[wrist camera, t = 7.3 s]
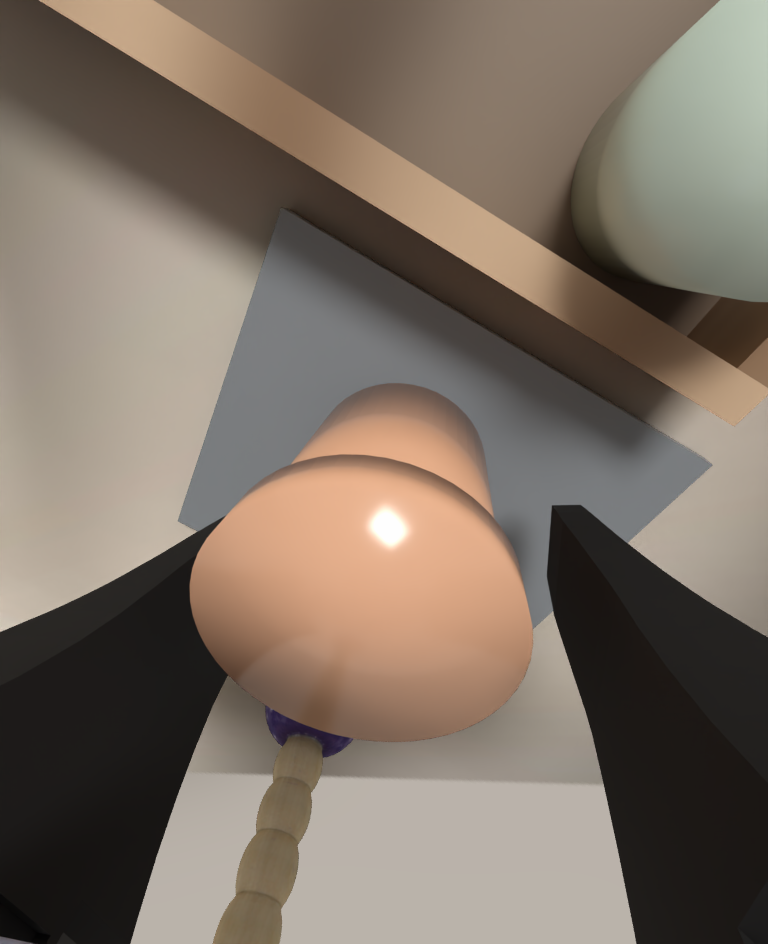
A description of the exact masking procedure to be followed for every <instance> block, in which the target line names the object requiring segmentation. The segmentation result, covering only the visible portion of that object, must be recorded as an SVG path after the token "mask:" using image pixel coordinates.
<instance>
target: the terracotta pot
mask: <svg viewBox="0 0 768 944" xmlns="http://www.w3.org/2000/svg"><path fill="white" fill-rule="evenodd" d="M190 603H191V608H192V614H193V618H194V621H195V623H196V626H197V629H198V632H199V634H200V636H201V638H202V640H203V642H204V644H205V646H206V647H207V649H208V650H209V652H210V653H211V655H212V656H213V658H214V659H215V660H216V662H217V663H218V664H219V665H220V666H221V668H222V669H223V670H224V671H225V672H226V673H227V674H228V675H229V676H230V677H231V678H232V679H233V680H234V681H235V682H236V683H237V684H238V685H239V686H240V687H242V688H243V689H244V690H245V691H247V692H248V693H249V694H250V695H252V696H253V697H254V698H256V699H257V700H259V701H260V702H262V703H263V704H265V705H266V706H268V707H269V708H271V709H273V710H275V711H277V712H278V713H280V714H282V715H284V716H286V717H288V718H290V719H292V720H295V721H297V722H299V723H301V724H304V725H307V726H309V727H312V728H315V729H318V730H321V731H324V732H328V733H331V734H335V735H339V736H344V737H349V738H354V739H361V740H369V741H382V742H405V741H417V740H425V739H431V738H436V737H440V736H444V735H448V734H451V733H454V732H457V731H460V730H463V729H465V728H467V727H470V726H472V725H474V724H476V723H478V722H480V721H482V720H483V719H485V718H486V717H488V716H489V715H491V714H492V713H494V712H495V711H496V710H497V709H499V708H500V707H501V706H502V705H503V704H504V703H506V702H507V700H508V699H509V698H510V697H511V696H512V695H513V693H514V692H515V691H516V690H517V688H518V687H519V685H520V683H521V681H522V680H523V678H524V676H525V674H526V671H527V668H528V666H529V663H530V660H531V654H532V647H533V628H532V621H531V617H530V612H529V607H528V602H527V597H526V593H525V588H524V583H523V578H522V574H521V570H520V565H519V561H518V558H517V556H516V554H515V551H514V549H513V546H512V544H511V542H510V541H509V539H508V537H507V536H506V534H505V532H504V531H503V529H502V528H501V526H500V525H499V524H498V523H497V521H496V520H495V519H494V513H493V506H492V500H491V493H490V486H489V480H488V473H487V466H486V460H485V453H484V449H483V445H482V441H481V439H480V436H479V434H478V432H477V430H476V428H475V426H474V425H473V423H472V422H471V420H470V419H469V418H468V416H467V415H466V414H465V413H464V412H463V411H462V410H461V409H460V408H459V407H458V406H457V405H456V404H454V403H453V402H452V401H450V400H449V399H448V398H446V397H444V396H442V395H441V394H439V393H437V392H435V391H432V390H430V389H427V388H424V387H420V386H416V385H412V384H404V383H387V384H380V385H375V386H371V387H368V388H365V389H362V390H360V391H358V392H355V393H354V394H352V395H350V396H349V397H347V398H345V399H344V400H343V401H342V402H341V403H339V404H338V405H337V406H336V407H335V408H334V409H333V410H332V412H331V413H330V414H329V415H328V416H327V418H326V419H325V420H324V422H323V423H322V424H321V425H320V427H319V428H318V429H317V431H316V432H315V433H314V435H313V436H312V437H311V438H310V440H309V441H308V442H307V444H306V445H305V446H304V447H303V449H302V450H301V451H300V453H299V454H298V455H297V456H296V458H295V459H294V460H293V462H292V463H291V464H290V465H288V466H286V467H283V468H281V469H279V470H277V471H275V472H273V473H272V474H270V475H268V476H266V477H265V478H263V479H262V480H260V481H259V482H258V483H257V484H255V485H254V486H253V487H252V488H251V489H249V490H248V491H247V493H246V494H245V495H244V496H243V497H242V498H241V499H240V500H239V502H238V503H237V504H236V505H235V506H234V507H233V509H232V510H231V511H230V512H229V513H228V514H227V515H226V517H225V518H224V519H223V520H222V521H221V522H220V524H219V525H218V526H217V527H216V528H215V529H214V530H213V532H212V533H211V534H210V535H209V536H208V537H207V539H206V540H205V542H204V544H203V545H202V547H201V549H200V550H199V552H198V554H197V557H196V560H195V562H194V565H193V568H192V573H191V579H190Z"/></svg>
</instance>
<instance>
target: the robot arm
mask: <svg viewBox="0 0 768 944" xmlns="http://www.w3.org/2000/svg"><path fill="white" fill-rule="evenodd" d="M225 517H226V516H224V517H222V518H220V519H219V520H217V521H215V522H213V523H212V524H210V525H208V526H206V527H205V528H203V529H201V530H200V531H198V532H196V533H195V534H193V535H191V536H190V537H188V538H186V539H185V540H183V541H181V542H180V543H178V544H176V545H175V546H173V547H171V548H170V549H168V550H167V551H165V552H163V553H162V554H160V555H158V556H156V557H155V558H153V559H151V560H149V561H147V562H146V563H144V564H142V565H140V566H139V567H137V568H135V569H133V570H132V571H130V572H128V573H126V574H124V575H123V576H121V577H119V578H117V579H116V580H114V581H112V582H110V583H108V584H106V585H104V586H102V587H100V588H98V589H96V590H94V591H92V592H90V593H88V594H86V595H84V596H82V597H80V598H78V599H76V600H74V601H71V602H69V603H67V604H65V605H63V606H61V607H59V608H56V609H54V610H52V611H49V612H47V613H45V614H42V615H40V616H38V617H35V618H33V619H30V620H28V621H26V622H23V623H21V624H18V625H16V626H14V627H11V628H9V629H7V630H4V631H2V632H0V944H130V943H131V939H132V936H133V932H134V929H135V925H136V922H137V918H138V915H139V912H140V909H141V905H142V902H143V899H144V896H145V892H146V889H147V886H148V883H149V879H150V876H151V873H152V870H153V866H154V863H155V860H156V856H157V853H158V851H159V848H160V845H161V842H162V839H163V836H164V833H165V830H166V827H167V824H168V821H169V818H170V815H171V813H172V810H173V807H174V803H175V801H176V798H177V795H178V793H179V790H180V787H181V784H182V782H183V779H184V777H185V774H186V771H187V769H188V766H189V763H190V761H191V758H192V755H193V753H194V750H195V748H196V745H197V743H198V740H199V738H200V735H201V733H202V730H203V728H204V725H205V723H206V721H207V718H208V716H209V713H210V711H211V708H212V706H213V704H214V702H215V700H216V698H217V696H218V694H219V692H220V689H221V687H222V685H223V684H224V682H225V680H226V678H227V676H228V674H227V673H226V672H225V671H224V670H223V669H222V668H221V666H220V665H219V664H218V663H217V662H216V660H215V659H214V658H213V656H212V655H211V653H210V652H209V650H208V649H207V647H206V646H205V644H204V642H203V640H202V638H201V636H200V634H199V632H198V629H197V626H196V623H195V621H194V618H193V614H192V608H191V603H190V579H191V573H192V568H193V565H194V562H195V560H196V557H197V554H198V552H199V550H200V549H201V547H202V545H203V544H204V542H205V540H206V539H207V537H208V536H209V535H210V534H211V533H212V532H213V530H214V529H215V528H216V527H217V526H218V525H219V524H220V522H221V521H222V520H223V519H224V518H225ZM547 580H548V586H549V591H550V597H551V602H552V607H553V612H554V616H555V619H556V623H557V626H558V629H559V632H560V635H561V638H562V641H563V644H564V647H565V650H566V653H567V656H568V660H569V663H570V666H571V669H572V672H573V675H574V678H575V681H576V684H577V687H578V690H579V693H580V696H581V699H582V702H583V705H584V708H585V711H586V714H587V718H588V721H589V725H590V728H591V732H592V735H593V739H594V744H595V748H596V752H597V757H598V761H599V766H600V770H601V774H602V779H603V783H604V788H605V792H606V796H607V801H608V806H609V811H610V815H611V820H612V825H613V829H614V834H615V838H616V843H617V848H618V853H619V858H620V863H621V868H622V873H623V877H624V883H625V888H626V892H627V898H628V903H629V907H630V913H631V917H632V922H633V928H634V932H635V938H636V943H637V944H768V637H766V636H764V635H763V634H761V633H759V632H757V631H756V630H754V629H752V628H750V627H749V626H747V625H745V624H744V623H742V622H741V621H739V620H737V619H736V618H734V617H732V616H731V615H729V614H727V613H726V612H724V611H722V610H721V609H719V608H717V607H716V606H714V605H713V604H711V603H710V602H708V601H706V600H705V599H703V598H702V597H700V596H699V595H697V594H696V593H694V592H693V591H691V590H690V589H688V588H687V587H686V586H684V585H683V584H681V583H680V582H678V581H677V580H676V579H674V578H673V577H671V576H670V575H668V574H667V573H666V572H664V571H663V570H661V569H660V568H659V567H657V566H656V565H655V564H653V563H652V562H651V561H649V560H648V559H647V558H645V557H644V556H643V555H642V554H640V553H639V552H638V551H636V550H635V549H634V548H633V547H631V546H630V545H629V544H628V543H626V542H625V541H624V540H623V539H621V538H620V537H619V536H618V535H617V534H615V533H614V532H613V531H612V530H611V529H609V528H608V527H607V526H606V525H605V524H603V523H602V522H601V521H600V520H599V519H598V518H596V517H595V516H594V515H593V514H592V513H590V512H589V511H588V510H587V509H586V508H584V507H583V506H582V505H552V510H551V523H550V537H549V551H548V565H547Z"/></svg>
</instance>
